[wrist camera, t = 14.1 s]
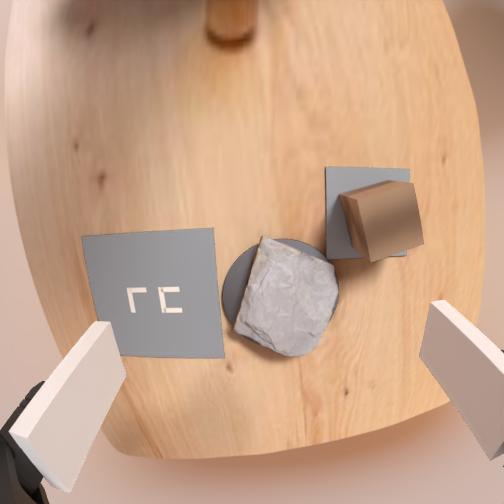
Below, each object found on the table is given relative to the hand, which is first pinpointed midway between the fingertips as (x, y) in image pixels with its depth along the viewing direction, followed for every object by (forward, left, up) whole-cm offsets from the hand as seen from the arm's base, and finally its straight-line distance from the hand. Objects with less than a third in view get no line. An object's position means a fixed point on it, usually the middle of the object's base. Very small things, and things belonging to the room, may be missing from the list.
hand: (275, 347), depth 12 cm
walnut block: (-2, +12, -22) cm, 25 cm away
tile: (-2, +12, -22) cm, 25 cm away
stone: (+7, +3, -22) cm, 23 cm away
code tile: (+7, -13, -22) cm, 27 cm away
